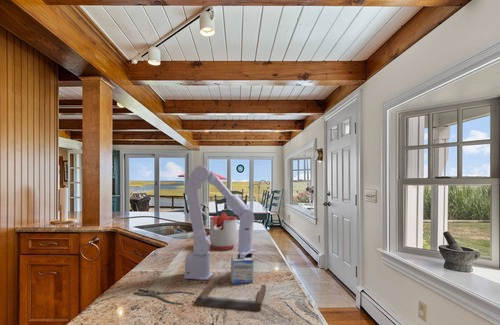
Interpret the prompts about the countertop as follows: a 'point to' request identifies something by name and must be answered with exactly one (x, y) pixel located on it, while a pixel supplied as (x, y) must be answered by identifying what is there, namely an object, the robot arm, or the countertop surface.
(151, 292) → the pliers
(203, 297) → the bay
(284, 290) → the countertop surface
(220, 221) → the citrus juicer
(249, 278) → the medicine box
